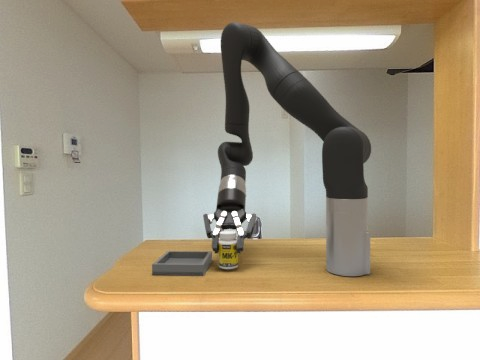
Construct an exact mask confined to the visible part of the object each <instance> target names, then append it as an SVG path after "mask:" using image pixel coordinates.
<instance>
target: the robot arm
mask: <svg viewBox="0 0 480 360" xmlns="http://www.w3.org/2000/svg"><path fill="white" fill-rule="evenodd" d="M220 53H221V54H220V55H221V64H222V72H223V73H222V75H223V82H224V92H225V109H224V110H225V112H224V113H225V115H224V120H225V121H224V131H225V133H227V134H229V135H232V136H235V137H238V138H239V139H240V140H241V141H239V142H238V141H223V142H221V143H220V145H219V146H218V147H217V158H218V161H219V164H220V168H221V171H220V173H221V174H220V182H219V186H218V192H217V199H216V200H217V201H216V208H215V211H214V213H213V214H208V213H204V214H203V223H204V228H205V233H206V236H207V239H212V240H211V249H212V252H214V254H218V241H219V240H220V232H222V231H225V230H236V231H235V232H236V235H237V236H236V239H237V253H238V254H241V252H243V251H244V247H245V246H244V243H245V239H251V238H252V236H253V234H254V231H255V227H256V224H257V220H258V219H257V214H256V213H254V212H253V213H252V214H250V213H249V214H248V213H247V212H246V200H247V199H246V198H247V188H246V180H247V179H246V178H247V171H246V168H245V167H247V166H249V165H250V164H251V163H252V162H253V159H254V152H253V149H252V148H253V147H252V145H251V140H250V132H249V131H250V130H249V129H250V127H249V124H250V101H249V98H248V94H247V90H246V87H245V85H244V82H243V76H242V62H243V61H244V62H248V63H249V64H251V65H252V66H253V67H254V68H255V69H257V71H258V72H259V73H260V74H261V75H262V76H263V78H264V82H265V85H266V89H267V90H268V93H269V95H270V96H271V97H272V99H273V100H274V101H275V102H276V103H277V104H278V105H279V107H280V108H282V109H283V110H284V111H285V112H286V113H287V114H289V116H291V117H292V118H294V119H295V120H296V121H298V122H299V123H301V124H302V125H304V126H306V127H307V128H309V129H310V130H311V131H312V132H314V133H315V134H316V135H317V136H318V137H319V138H320V139H321V140H322V141H323V143H322V149H321V164H322V165H321V166H322V169H321V170H322V181H323V182H322V183H323V186H324V189H325V232H326V233H325V249H326V250H325V253H326V254H325V256H326V257H325V258H326V259H325V263H326V264H325V270H326V271H327V272H329V273H331V274H334V275H336V276H344V277H360V276H365V275H371V232H370V231H369V230H368V229H369V228H368V226H369V225H368V223H369V222H368V219H369V216H368V215H369V214H368V213H369V210H368V208H369V205H368V203H369V201H368V200H369V199H368V195H369V192H368V191H369V190H368V189H369V188H368V185H367V183H366V180H365V175H364V174H365V171H364V164H365V163H366V162H368V160H369V159H370V157H371V154H372V144H371V140H370V139H369V137H368V136H367V134H366V133H365V132H363V131H362V130H360V129H359V128H358V127H356V126H355V125H354V124H353V123H351V122H350V121H349V120H347V118H345V117H343V116H342V114H340V113H339V112H338V111H337V110H335V108H334V107H333V106H332V105H331V104H330V103H329V102H328V100H327V99H326V98H325V97H324V96H323V94H322V93H321V92H320V91H319V90H318V89H317V88H316V87H315V86H314V84H312V82H310V80H308V79H307V77H305V75H303V74H302V73H301V72H300V71H299V70H298V69H296V68H295V66H293V65H292V64H291V63H290V62H289V61H288V60H287V59H286V58H284V56H282V55H281V54H280V53H279V52H278V51H277V50H276V49H275V47H274V46H273V45H272V44H271V43H270V41H269V40H268V39H267V38H266V37H265V35H264V34H263V33H262V32H261V30H260V29H258V28H257V27H255V26H254V25H253V26H252V25H249V24H245V23H241V22H235V21H234V22H229V23H228V24H226V26H225V27H224V28H223V30H222V32H221V35H220ZM246 220H247V223H248V224H247V226H246V230H243V228H242V227H243V226H242V224H243V223H245V221H246ZM214 221H215V222H216V224H215V228H214V230H212V229H211V225H212V224H213V222H214Z"/></svg>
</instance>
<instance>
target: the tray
mask: <svg viewBox="0 0 480 360" xmlns="http://www.w3.org/2000/svg"><path fill="white" fill-rule="evenodd" d="M212 262H213V250H212V251H211V250H210V251H209V250H207V251H206V250H202V251H201V250H167V251H165V253H163V254H162V255H161V256H160V257H158V258H157V259H156V260H155V261H154V262H153V263H152V264H151V272H152V273H151V274H152V276H197V277H198V276H199V277H200V276H201V277H203V276H205V274H206V272H207V270H208V269H209V267H210V265H211V263H212Z"/></svg>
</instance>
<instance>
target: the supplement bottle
mask: <svg viewBox="0 0 480 360" xmlns="http://www.w3.org/2000/svg"><path fill="white" fill-rule="evenodd" d="M217 254H218V255H217V256H218V268H220V269H223V270H233V269H236V268H238V266H239V253H237V231H235V230H224V231H222V232H220V238H219V241H218V253H217Z"/></svg>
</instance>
